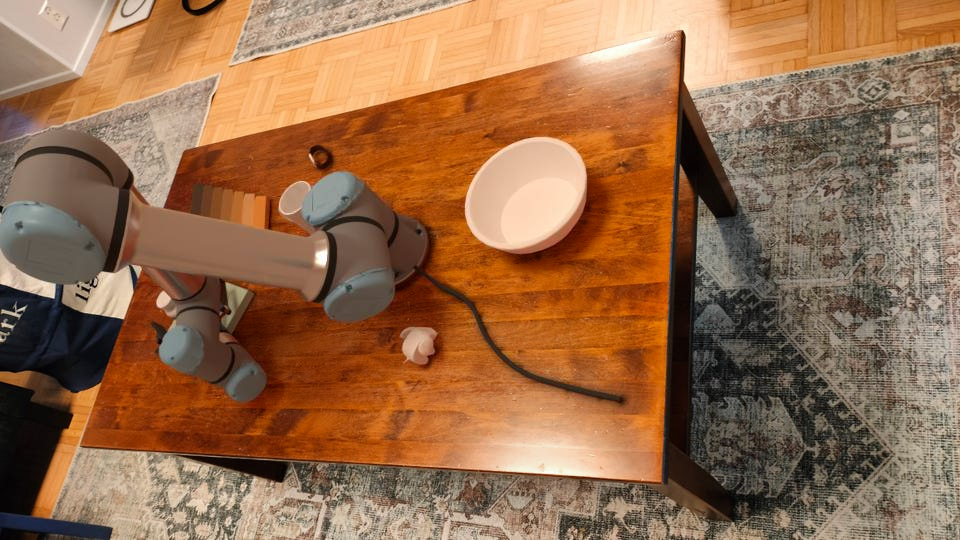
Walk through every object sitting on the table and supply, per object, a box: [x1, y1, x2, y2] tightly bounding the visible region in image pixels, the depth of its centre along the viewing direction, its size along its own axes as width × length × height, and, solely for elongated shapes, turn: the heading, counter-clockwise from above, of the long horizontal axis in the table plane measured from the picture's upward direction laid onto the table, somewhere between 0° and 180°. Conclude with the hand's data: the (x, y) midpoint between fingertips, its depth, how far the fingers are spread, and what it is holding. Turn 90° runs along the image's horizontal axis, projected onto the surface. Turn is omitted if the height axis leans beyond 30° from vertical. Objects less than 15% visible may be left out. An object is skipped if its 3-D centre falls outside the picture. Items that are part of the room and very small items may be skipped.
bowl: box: [464, 136, 588, 255], centre depth 115 cm, size 22×22×8 cm
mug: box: [278, 180, 316, 236], centre depth 139 cm, size 12×8×12 cm
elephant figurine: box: [399, 326, 439, 365], centre depth 114 cm, size 7×8×6 cm
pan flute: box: [189, 182, 271, 230], centre depth 161 cm, size 25×3×25 cm
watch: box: [308, 144, 332, 171], centre depth 153 cm, size 8×5×4 cm, turn 28°
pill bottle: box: [156, 290, 176, 320], centre depth 144 cm, size 6×6×11 cm
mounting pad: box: [167, 281, 255, 335], centre depth 146 cm, size 18×18×2 cm
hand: (176, 300), depth 145 cm, fingers open, 13 cm apart
